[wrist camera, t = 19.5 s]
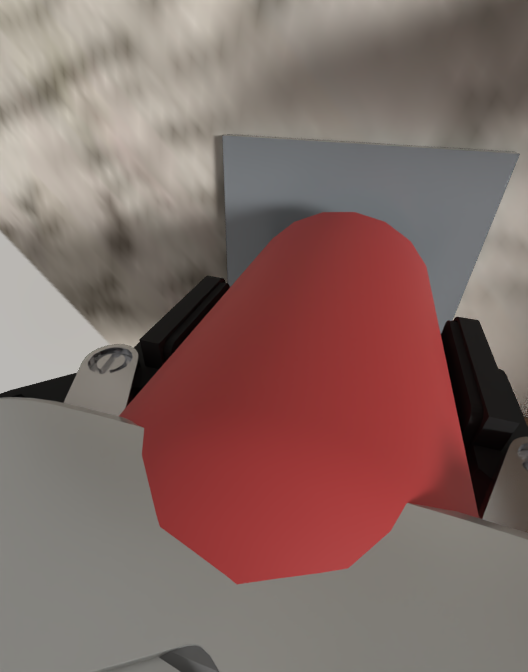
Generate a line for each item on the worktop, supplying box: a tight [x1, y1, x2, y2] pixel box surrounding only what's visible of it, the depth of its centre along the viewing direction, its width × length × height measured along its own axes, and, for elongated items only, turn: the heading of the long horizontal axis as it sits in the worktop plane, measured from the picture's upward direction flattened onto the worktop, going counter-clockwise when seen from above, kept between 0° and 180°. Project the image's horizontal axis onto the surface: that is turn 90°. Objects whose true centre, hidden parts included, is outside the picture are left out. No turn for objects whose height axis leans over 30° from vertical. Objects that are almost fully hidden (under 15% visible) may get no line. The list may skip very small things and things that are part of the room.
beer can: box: [119, 212, 479, 672], centre depth 9 cm, size 7×7×12 cm
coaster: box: [223, 134, 520, 334], centre depth 15 cm, size 10×10×1 cm
